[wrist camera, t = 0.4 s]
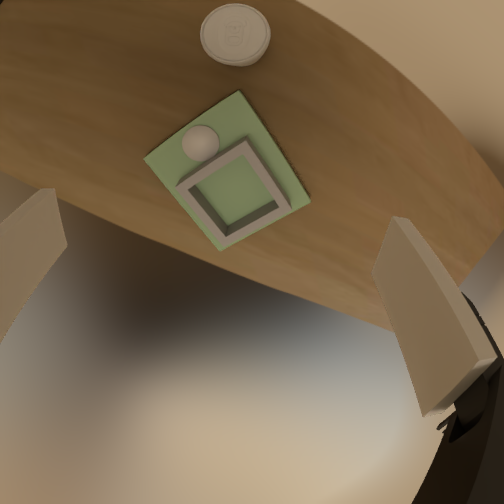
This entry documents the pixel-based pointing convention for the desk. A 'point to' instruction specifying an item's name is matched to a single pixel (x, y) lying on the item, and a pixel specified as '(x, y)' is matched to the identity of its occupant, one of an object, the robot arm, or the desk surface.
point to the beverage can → (235, 34)
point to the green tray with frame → (228, 172)
